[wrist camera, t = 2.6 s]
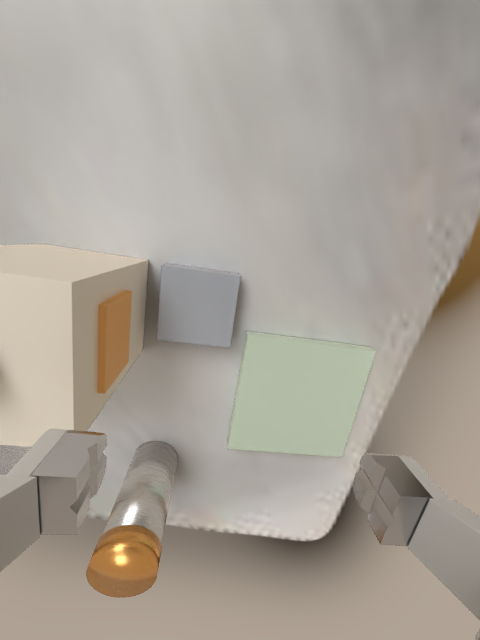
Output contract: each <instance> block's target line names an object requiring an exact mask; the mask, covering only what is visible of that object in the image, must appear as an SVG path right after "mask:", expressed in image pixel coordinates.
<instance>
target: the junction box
mask: <svg viewBox="0 0 480 640" xmlns="http://www.w3.org/2000/svg"><path fill="white" fill-rule="evenodd" d="M148 261H149V260H146V259H139V258H133V257H126V256H119V255H113V254H106V253H100V252H93V251H87V250H80V249H74V248H67V247H60V246H54V245H47V244H23V245H0V445H11V446H26V447H32V446H33V445H34V444H35V442H36V441H37V440H38V439H39V438H40V437H41V436H42V435H43V434H44V433H45V432H46V431H47V430H49V429H51V428H53V429H63V430H76V431H86V432H87V430H88V429H89V427H90V426H91V424H92V423H93V421H94V420H95V419H96V417H97V416H98V414H99V413H100V411H101V410H102V408H103V407H104V405H105V404H106V403H107V401H108V400H109V398H110V397H111V395H112V394H113V392H114V391H115V389H116V388H117V387H118V385H119V384H120V382H121V381H122V379H123V378H124V376H125V375H126V373H127V372H128V371H129V369H130V368H131V366H132V365H133V363H134V362H135V360H136V359H137V357H138V356H139V355H140V353H141V352H142V350H143V339H144V323H145V308H146V292H147V276H148Z"/></svg>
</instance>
